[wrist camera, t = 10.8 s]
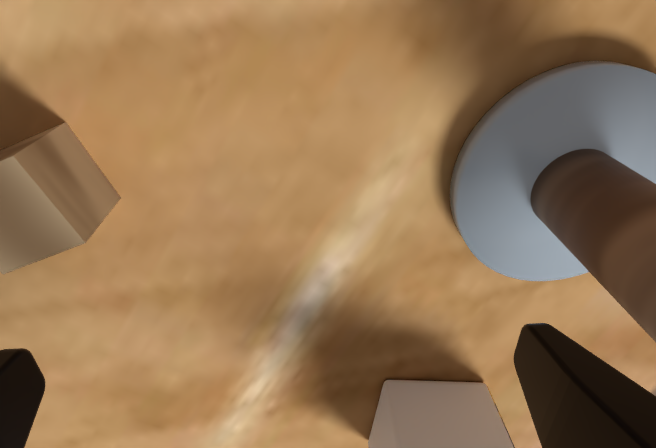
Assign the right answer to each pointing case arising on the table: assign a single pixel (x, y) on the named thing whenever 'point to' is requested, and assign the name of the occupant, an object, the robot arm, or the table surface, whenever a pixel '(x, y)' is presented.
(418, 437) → the medicine bottle
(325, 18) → the table surface
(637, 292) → the brown cylinder
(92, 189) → the oak block
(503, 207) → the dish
